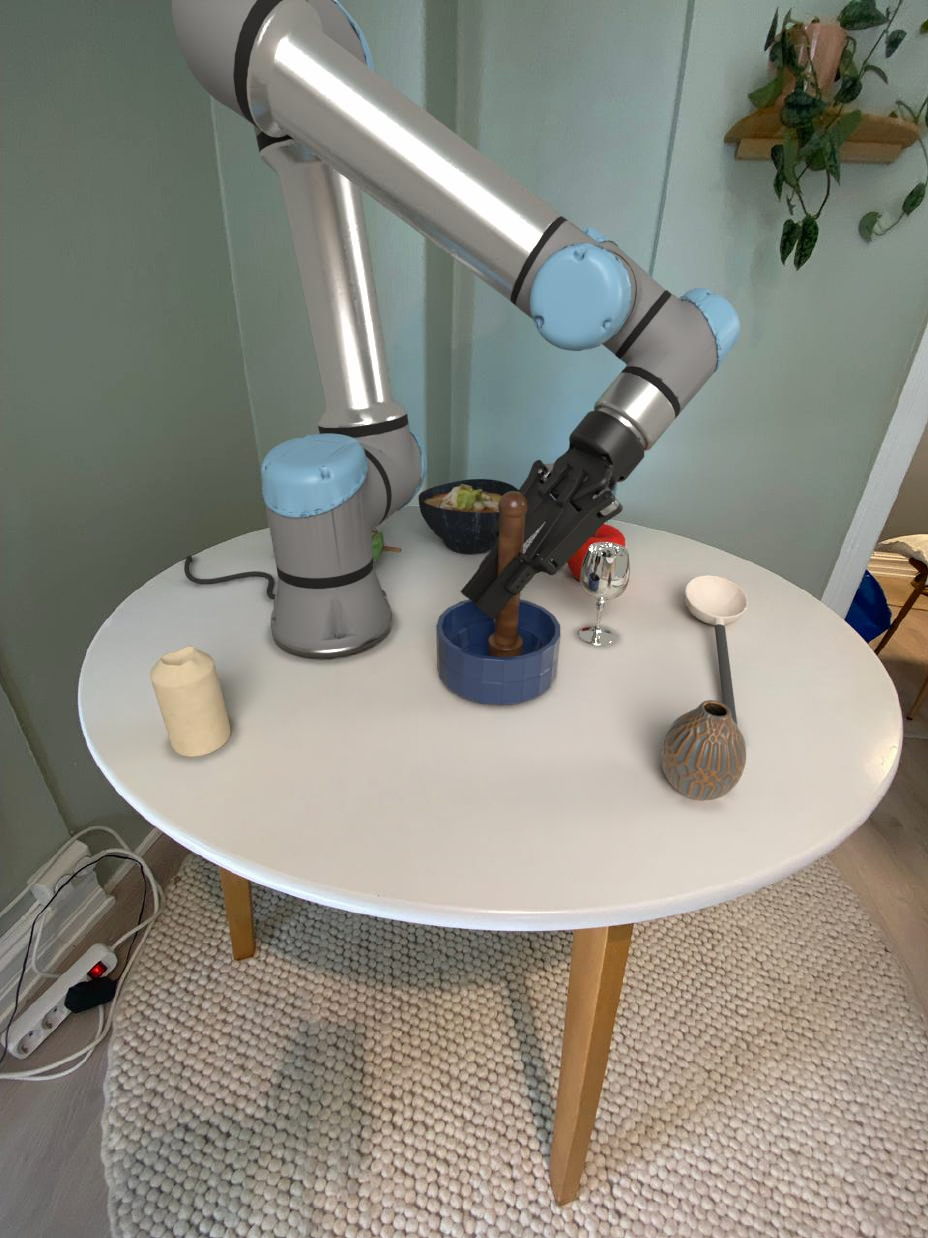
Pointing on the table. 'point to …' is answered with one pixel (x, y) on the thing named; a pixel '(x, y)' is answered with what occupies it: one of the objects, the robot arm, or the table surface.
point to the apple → (601, 535)
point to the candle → (191, 701)
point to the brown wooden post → (510, 544)
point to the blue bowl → (496, 677)
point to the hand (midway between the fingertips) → (477, 605)
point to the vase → (704, 752)
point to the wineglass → (603, 583)
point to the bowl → (464, 513)
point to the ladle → (718, 620)
